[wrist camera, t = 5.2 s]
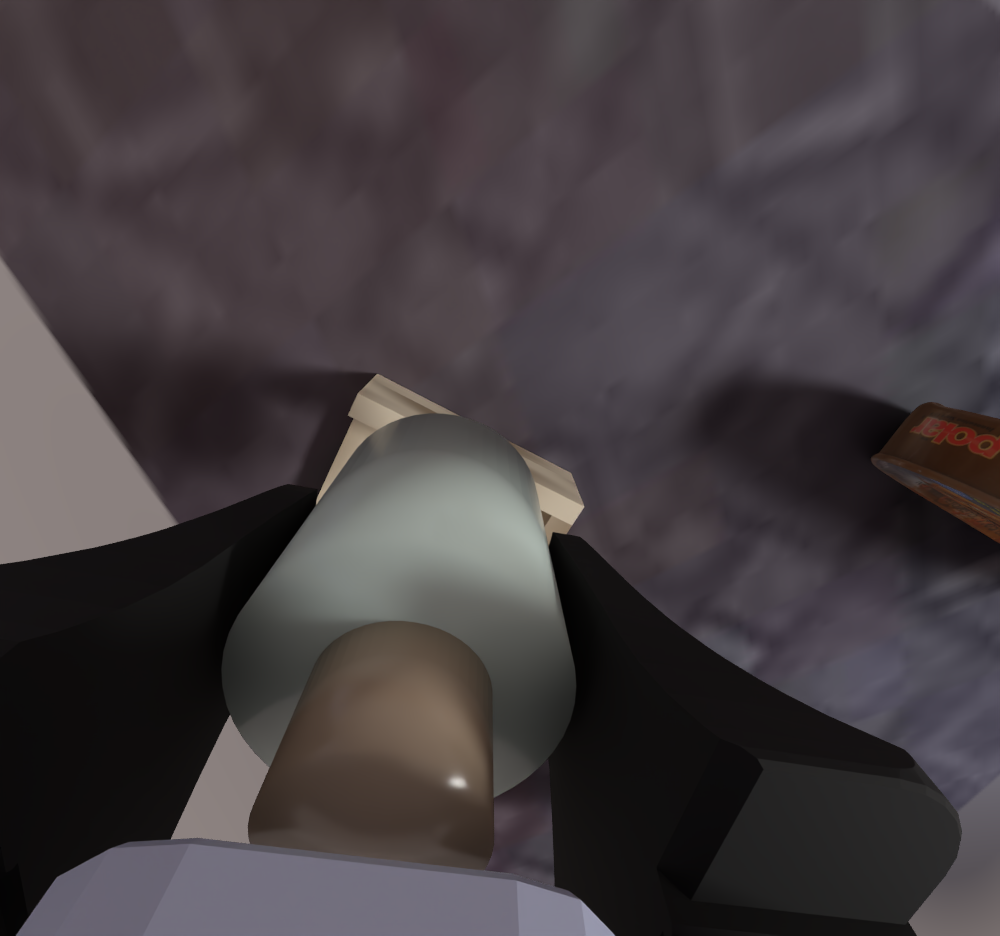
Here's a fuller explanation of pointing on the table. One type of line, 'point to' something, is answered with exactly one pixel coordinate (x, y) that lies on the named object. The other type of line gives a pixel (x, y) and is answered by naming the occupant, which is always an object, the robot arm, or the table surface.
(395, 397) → the wooden box
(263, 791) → the bottle
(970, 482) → the tin
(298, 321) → the table surface
